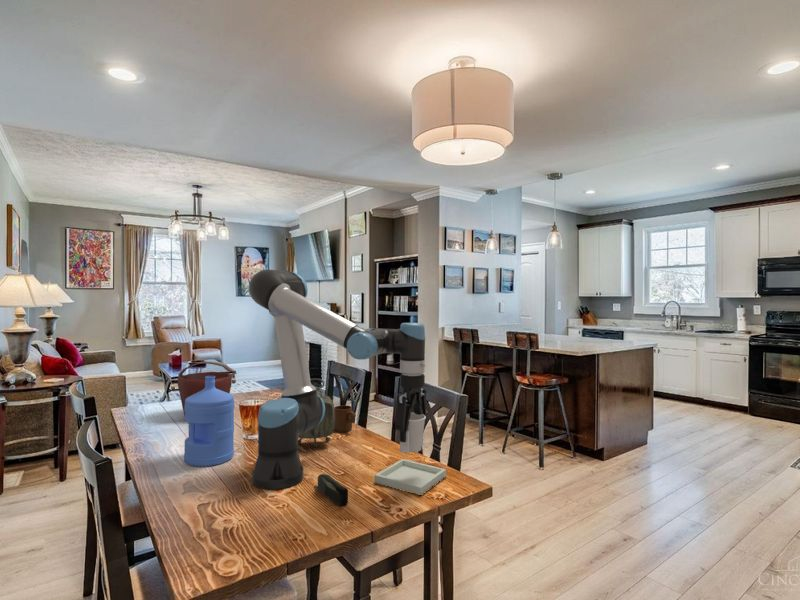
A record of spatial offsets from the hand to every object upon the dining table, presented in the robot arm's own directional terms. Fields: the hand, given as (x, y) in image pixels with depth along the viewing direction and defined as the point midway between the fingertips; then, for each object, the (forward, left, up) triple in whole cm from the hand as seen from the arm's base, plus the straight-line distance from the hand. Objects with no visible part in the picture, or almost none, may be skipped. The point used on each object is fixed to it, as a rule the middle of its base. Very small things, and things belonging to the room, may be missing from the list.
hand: (411, 448), depth 137 cm
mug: (+27, +48, -10) cm, 56 cm away
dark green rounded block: (-22, +13, -10) cm, 28 cm away
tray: (0, 0, -10) cm, 10 cm away
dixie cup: (0, 0, 0) cm, 0 cm away
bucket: (+8, +113, -10) cm, 114 cm away
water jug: (-23, +66, -10) cm, 71 cm away
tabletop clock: (+7, +46, -10) cm, 48 cm away
